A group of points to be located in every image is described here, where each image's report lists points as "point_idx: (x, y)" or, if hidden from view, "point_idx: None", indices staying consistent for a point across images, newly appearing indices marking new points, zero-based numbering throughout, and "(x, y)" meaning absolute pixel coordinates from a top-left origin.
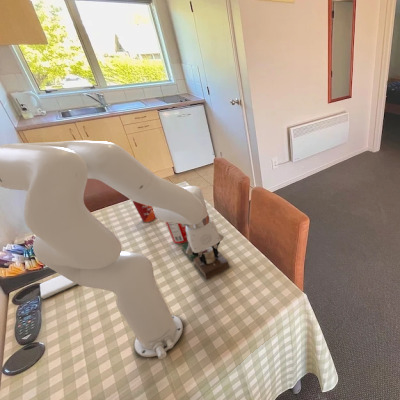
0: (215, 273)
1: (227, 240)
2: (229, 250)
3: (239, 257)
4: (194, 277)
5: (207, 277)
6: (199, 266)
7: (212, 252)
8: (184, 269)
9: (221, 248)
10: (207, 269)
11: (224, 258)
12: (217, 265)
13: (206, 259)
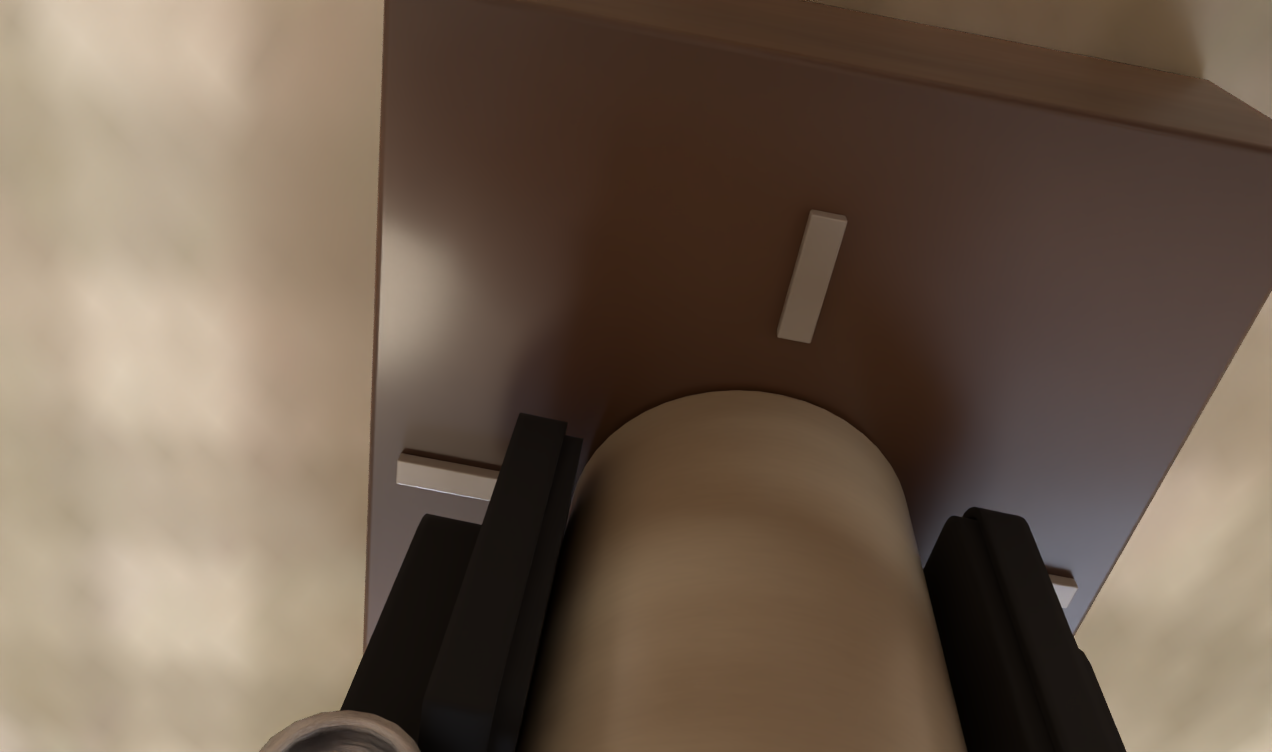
0: (934, 36)
1: (41, 704)
2: (136, 460)
3: (17, 20)
4: (1260, 426)
5: (1205, 94)
6: (1103, 571)
7: (642, 699)
8: (1129, 749)
9: (254, 635)
10: (1111, 275)
11: (390, 222)
12: (779, 135)
13: (924, 607)
